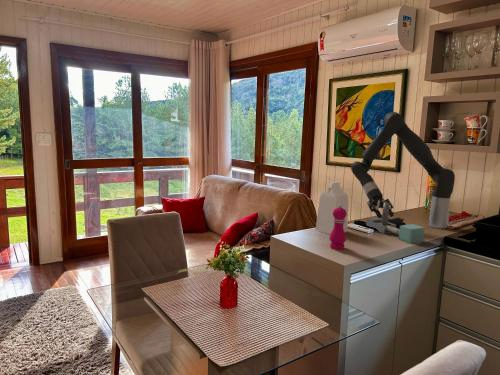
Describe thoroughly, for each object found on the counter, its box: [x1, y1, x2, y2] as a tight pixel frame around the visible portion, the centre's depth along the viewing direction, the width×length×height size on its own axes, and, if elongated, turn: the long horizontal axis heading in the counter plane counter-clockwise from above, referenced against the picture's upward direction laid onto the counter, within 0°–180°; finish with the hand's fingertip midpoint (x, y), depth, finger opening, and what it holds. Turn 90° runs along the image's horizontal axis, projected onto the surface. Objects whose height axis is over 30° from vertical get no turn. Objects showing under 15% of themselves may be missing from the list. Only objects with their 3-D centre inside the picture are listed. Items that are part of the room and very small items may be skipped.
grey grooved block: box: [365, 216, 396, 235], centre depth 197 cm, size 8×13×5 cm, turn 26°
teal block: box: [398, 223, 426, 244], centre depth 179 cm, size 9×7×7 cm
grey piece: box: [378, 203, 400, 235], centre depth 192 cm, size 3×18×14 cm, turn 26°
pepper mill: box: [329, 204, 347, 251], centre depth 164 cm, size 7×7×20 cm
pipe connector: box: [381, 217, 407, 229], centre depth 204 cm, size 12×5×15 cm
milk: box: [315, 181, 349, 235], centre depth 190 cm, size 12×12×26 cm
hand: (386, 216), depth 193 cm, fingers open, 8 cm apart
